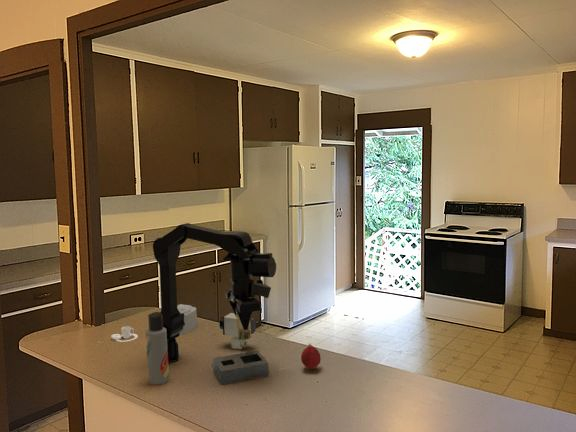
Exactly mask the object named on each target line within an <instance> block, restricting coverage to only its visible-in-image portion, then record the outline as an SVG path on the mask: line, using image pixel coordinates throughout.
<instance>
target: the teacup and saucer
mask: <svg viewBox="0 0 576 432" xmlns="http://www.w3.org/2000/svg"><path fill="white" fill-rule="evenodd" d="M120 330H121V334H119V333H114V334H111V335H110V338H111V339H112V340H114V341H115V342H121V343H123V342H131V341H134V340H136V339H138V337H139V335H138V334H136V333H134V332H135V329H134V328H133V327H131V326H129V325H127V326H122V327H121V329H120ZM131 330H132V333H131ZM132 336H134V337H133V338H131V337H132ZM122 338H123V339H125V340H121V339H122ZM129 338H131V339H129ZM127 339H128V340H127Z"/></svg>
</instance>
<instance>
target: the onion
mask: <svg viewBox="0 0 576 432" xmlns="http://www.w3.org/2000/svg"><path fill="white" fill-rule="evenodd" d="M321 357H322V356H321V354H320V352H319V350H318V349H317V347H315V346H313V345H312V343H308V346H306V347H305V348H304V349H303V350H302V352H301V357H300V362H301V363H302V365H303V366H304V367H305V368H307V369H308V370H310V371H312V370H314V369H315V368H317V366H319V365H320V363H321Z"/></svg>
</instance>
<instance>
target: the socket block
mask: <svg viewBox="0 0 576 432" xmlns="http://www.w3.org/2000/svg"><path fill="white" fill-rule="evenodd" d="M212 359H213V361H212V362H213V372H214V374H215V376H216V378H217V380H218V381H219V384H220V385H221V386H222V385H228V384H234V383H239V382H245V381H250V380H255V379H260V378H265V377H269V372H270V371H269V362H268V360H267V359H266V358H265V357H264V355H262V353H261V352H260V351H259V350H254V351H247V352H242V353H236V354H235V353H234V354H231V355H230V354H228V355H222V356H218V357H213V358H212Z"/></svg>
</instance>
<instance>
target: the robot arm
mask: <svg viewBox="0 0 576 432" xmlns="http://www.w3.org/2000/svg"><path fill="white" fill-rule="evenodd" d="M188 239H189V240H193V241H197V242H202V243H205V244H210V245H214V246H217V247H219V248H220V249H222V251H225V252H227V254H226V255H225V256H224V257H223V258H222V259H223V261H224V262H225V261H226V262H229V263H230V264H229V265H230V266H229V267H230V278H229V283H230V284H231V287H228V288H226V290H225V291H224V297H225V299H226V300H229V301H228V304H229V306H230V308H231V310H232V313H234V314H235V316H236V312H237V315H238V317H239V319H240V322H241V324H242V326H243V329H244V330H247V329H248V326H249V322H250V317H251V315H252V314H253V312H258V311H260V312H261V311H262V309H263V308H262V302H260V301H259V300H258V299H257V298H256V296H260V297H264V298H265V299H268V298H269V297H270V293H271V290H272V287H270V286H269V285H268V284H266V283H264V281H263V280H262V278H273V277H275V276H276V275H275V274H276V273H277V262H276V260H275V257H273V253H272V252H267V253H261V252H260V250H259V249H258V247H257V246H256V244H254V242H253V241H252V237H251V235H250V233H249V232H247V231H237V230H235V231H234V230H233V231H221V230H217V229H213V228H210V227H209V228H208V227H204V226H201V225H195V224H192V223H190V222H189V223H188V222H186V223H182V224H178V225H177V226H176V227H175V228H174V229H173V230H171V231H169V232H168V233H166V234H165V235H163V236H160V237H157V238H156V239H155V240H154V241H153V243H152V251H153V255H154V256H153V257H154V259H155V260H156V262H157V264H158V266H159V285H160V287H159V289H160V308H161V309H160V311H159V312H160V313H161V314H162V320H163V327H164V328H166V332H167V349H168V363H172V362H177V361H179V358H178V357H179V355H180V354H179V351H180V350H179V344H178V341H177V339H176V338H179V337H180V332H181V331H182V330H183V326H184V325H185V323H184V313H180V312H179V310H178V309H177V306H178V293H177V291H178V289H177V263H178V262H177V261H178V259H179V257H180V254H181V246H182V245H183V244H184V243H186V241H187V240H188ZM252 276H253V277H261V279H260V278H255V280H254V279H253V278H252ZM236 307H237V308H236Z"/></svg>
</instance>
